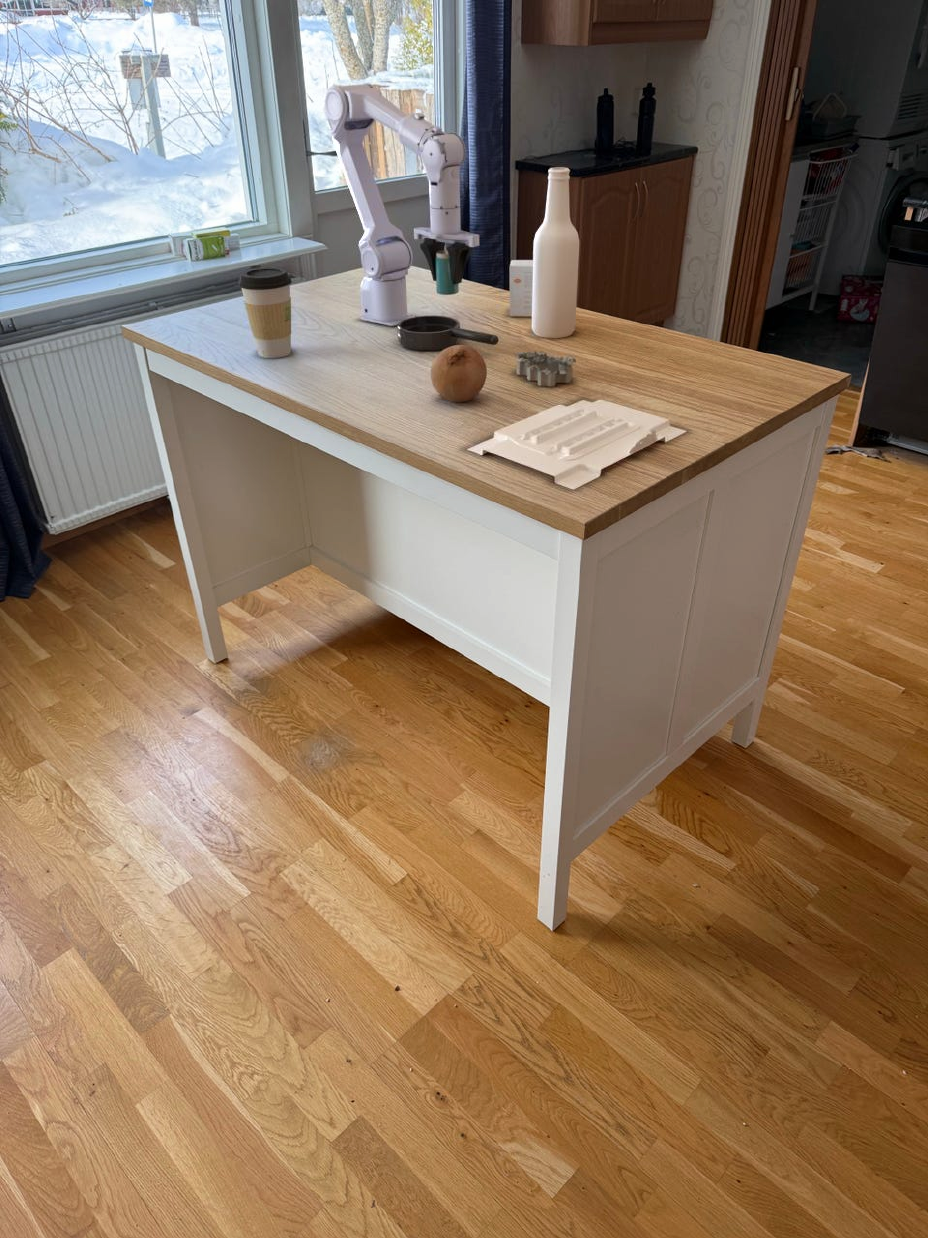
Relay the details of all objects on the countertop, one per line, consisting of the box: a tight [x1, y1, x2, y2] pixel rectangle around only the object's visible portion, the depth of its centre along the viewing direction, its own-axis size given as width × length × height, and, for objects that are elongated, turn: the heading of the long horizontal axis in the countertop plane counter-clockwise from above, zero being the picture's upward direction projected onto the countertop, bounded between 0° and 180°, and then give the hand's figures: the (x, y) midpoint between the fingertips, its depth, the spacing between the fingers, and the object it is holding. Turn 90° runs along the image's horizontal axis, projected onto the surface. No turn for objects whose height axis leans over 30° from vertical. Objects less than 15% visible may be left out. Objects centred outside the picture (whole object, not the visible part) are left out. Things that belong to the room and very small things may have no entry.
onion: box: [430, 344, 488, 403], centre depth 149 cm, size 10×9×10 cm
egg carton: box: [513, 350, 577, 388], centre depth 158 cm, size 11×8×4 cm
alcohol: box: [531, 166, 580, 339], centre depth 174 cm, size 9×9×30 cm
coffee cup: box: [238, 266, 293, 359], centre depth 170 cm, size 10×10×15 cm
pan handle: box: [451, 327, 499, 346], centre depth 171 cm, size 11×2×2 cm, turn 53°
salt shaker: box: [435, 249, 460, 296], centre depth 175 cm, size 4×4×8 cm
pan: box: [397, 315, 461, 352], centre depth 177 cm, size 12×12×4 cm
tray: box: [466, 399, 687, 490], centre depth 135 cm, size 20×28×4 cm
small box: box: [509, 259, 533, 318], centre depth 191 cm, size 8×6×10 cm
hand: (447, 281), depth 176 cm, fingers closed on salt shaker, 4 cm apart
